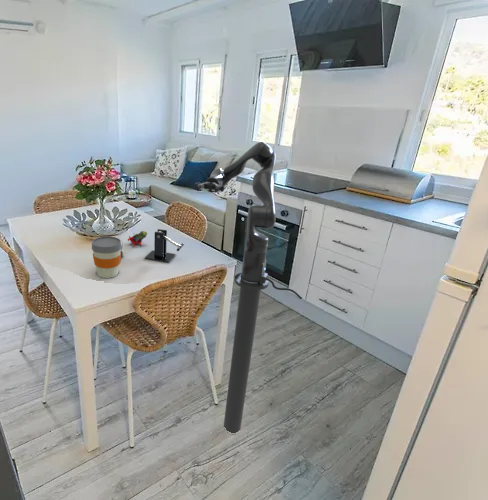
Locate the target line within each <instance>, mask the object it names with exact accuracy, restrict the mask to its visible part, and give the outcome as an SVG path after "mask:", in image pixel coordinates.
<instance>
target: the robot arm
mask: <svg viewBox="0 0 488 500" xmlns="http://www.w3.org/2000/svg"><path fill="white" fill-rule="evenodd" d="M276 157H277V154H276V151H275V150H274V149H273V148H272V147H271V146H270V145H269V144H268V143H266V142H265V141H263V140H261V141H258V142H256V143H255V144H254V145H252V146H251V147H250V148H249V149H248V150H246V151H245V152H244V153H243V154H241V156H240V157H238V158H237V159H236V160H235V161H233V162H231V163H230V164H228V165H227V166H225V167H224V168H223V169H222V168H216V169H214V170H213V171H212V172H211V174H210V176H209V177H208V178H207V179H206V180H205V181H204V182H200V181H198V182H195V183H194V190H195V191H197V192H200V191H207V192H209V193H214V194H216V193H218V192H222V193H223V192H224V191H225V189H226V186H227V185H228V184H229V182H230V181H232V180H233V179H234V178H236V177H238V176H239V175H240V174H241V175H242V173H243V172H244V170H245V169H246V165H247V163H248V161H250V160H253V161H254V162H255V163H257V164H258V165H259V166H260V167H261V169H260V170H258V171H257V172H255V174H254V175H253V178H252V192H253V194H254V195H255V196H256V197H257V198H258V200H259V201H260V202H261V203H262V204H263V205H257V204H252V205H250V206H249V208H248V210H247V211H248V212H247V222H246V233H245V240H244V249H243V257H242V265H241V272H240V273H241V280H242V281H244V282H246V283H249V284H259V285H260V284H261V283H265V282H266V280H268V281H269V283H270V284H271V285H272V287H273V289H274V290H279V291H289V292H291V293H293V294H295V295H296V296H297V297H298V298H299V299H300V300H302V299H303V297H302V296H301V295H300V294H299V293H297V291H295V290H294V289H291V288H288V287H278V286H276V285H275V283H274V281H273V280H272V279H270V278H269V277H268V276H269V273H267V272H266V269H267V268H266V267H267V261H268V260H267V254H268V253H267V252H268V246H269V237H268V236H267V235H265V234H264V233H261V232H260V231H258V230H257V229H265V230H269V229H272V228H274V227H275V224H276V220H277V219H276V218H277V214H276V204H275V203H276V202H275V164H276V159H277V158H276Z"/></svg>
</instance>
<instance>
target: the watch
mask: <svg viewBox="0 0 488 500" xmlns="http://www.w3.org/2000/svg"><path fill="white" fill-rule="evenodd" d="M111 237H116V238H119V239H120V240H121V247H122V248H121V251H120V252H121V259H123V257H124V256H123V255H124V254H123V253H124V252H123V248H124V242H123V240H122V239H121V238H120V236H116V235H115V236H113V235H112V236H111Z"/></svg>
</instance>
